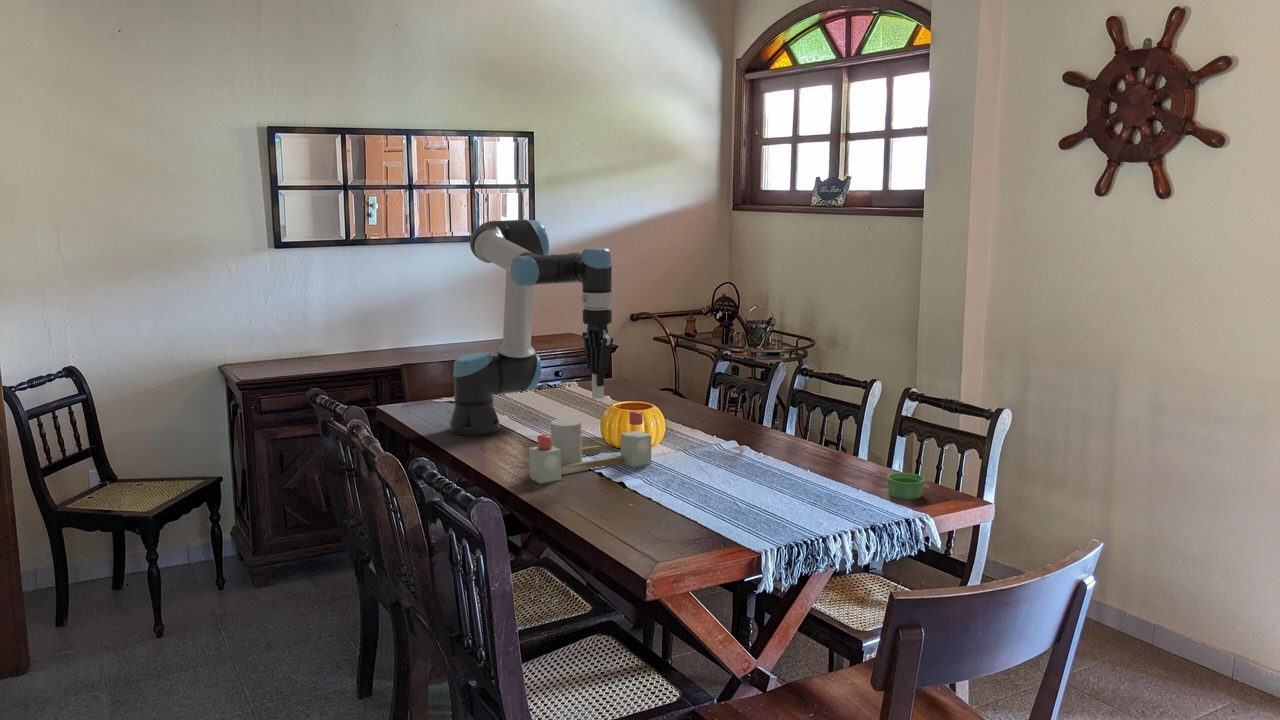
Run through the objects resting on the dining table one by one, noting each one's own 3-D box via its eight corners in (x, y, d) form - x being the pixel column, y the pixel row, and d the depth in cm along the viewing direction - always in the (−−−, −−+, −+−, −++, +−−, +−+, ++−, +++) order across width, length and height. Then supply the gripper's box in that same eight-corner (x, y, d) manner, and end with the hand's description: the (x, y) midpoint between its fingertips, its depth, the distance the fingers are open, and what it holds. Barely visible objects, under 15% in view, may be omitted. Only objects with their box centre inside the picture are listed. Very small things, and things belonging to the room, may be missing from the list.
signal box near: (529, 477, 260) (529, 447, 258) (550, 474, 263) (550, 444, 261) (540, 483, 254) (540, 453, 253) (561, 480, 257) (561, 449, 256)
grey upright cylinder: (577, 470, 266) (576, 426, 264) (548, 468, 268) (547, 424, 266) (585, 461, 274) (584, 419, 272) (556, 460, 276) (555, 417, 273)
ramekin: (882, 489, 250) (883, 472, 250) (919, 489, 250) (920, 472, 249) (890, 500, 242) (891, 483, 241) (928, 500, 241) (929, 483, 240)
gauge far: (626, 422, 272) (626, 411, 271) (638, 421, 273) (638, 410, 273) (633, 425, 269) (633, 414, 268) (645, 423, 270) (645, 412, 270)
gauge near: (535, 447, 258) (535, 435, 257) (547, 445, 260) (547, 433, 259) (541, 450, 255) (541, 438, 254) (554, 448, 257) (554, 436, 256)
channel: (537, 462, 274) (536, 455, 273) (597, 452, 284) (597, 445, 283) (560, 474, 262) (560, 467, 262) (623, 463, 272) (623, 456, 272)
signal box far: (620, 461, 274) (620, 433, 272) (639, 458, 277) (639, 430, 276) (633, 467, 269) (632, 438, 267) (651, 464, 272) (651, 435, 270)
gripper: (572, 306, 263) (574, 394, 267) (595, 312, 252) (596, 403, 256) (598, 304, 266) (599, 391, 270) (622, 310, 255) (622, 400, 259)
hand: (598, 397), depth 263 cm, fingers closed
